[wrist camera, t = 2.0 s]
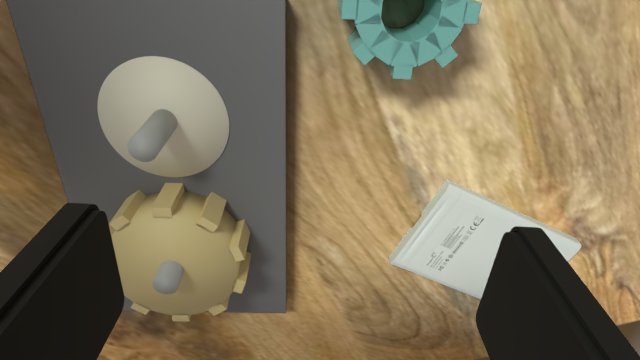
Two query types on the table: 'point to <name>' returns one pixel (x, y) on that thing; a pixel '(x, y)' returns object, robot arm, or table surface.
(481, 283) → the external hard drive
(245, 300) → the gear board
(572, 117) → the table surface
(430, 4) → the teal gear
